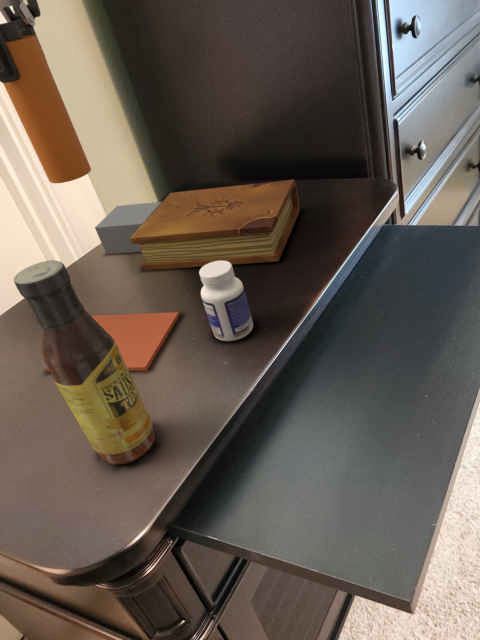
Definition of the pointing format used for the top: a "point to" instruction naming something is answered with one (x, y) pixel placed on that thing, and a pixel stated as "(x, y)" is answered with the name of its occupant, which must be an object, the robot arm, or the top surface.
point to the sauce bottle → (86, 366)
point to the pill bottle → (225, 301)
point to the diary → (219, 226)
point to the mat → (138, 335)
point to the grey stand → (123, 227)
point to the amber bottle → (43, 109)
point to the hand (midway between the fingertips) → (25, 74)
